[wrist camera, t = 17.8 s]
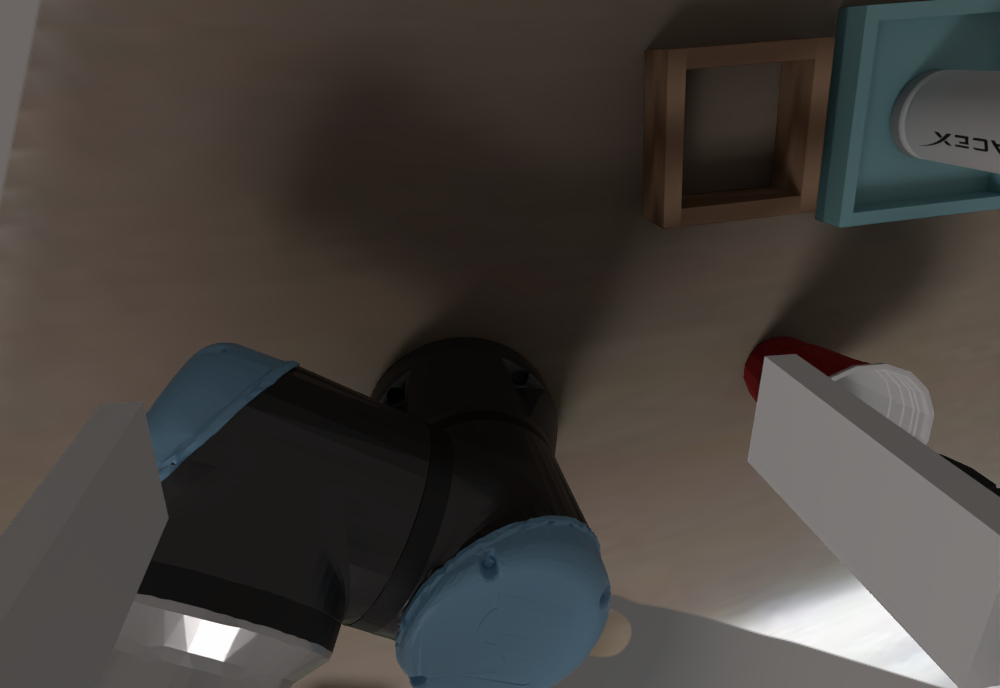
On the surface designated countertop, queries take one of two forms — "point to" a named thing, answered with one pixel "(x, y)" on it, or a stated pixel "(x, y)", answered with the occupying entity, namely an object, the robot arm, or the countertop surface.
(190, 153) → the countertop surface
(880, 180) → the tray
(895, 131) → the travel mug
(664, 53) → the open wooden box
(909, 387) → the plastic cup
